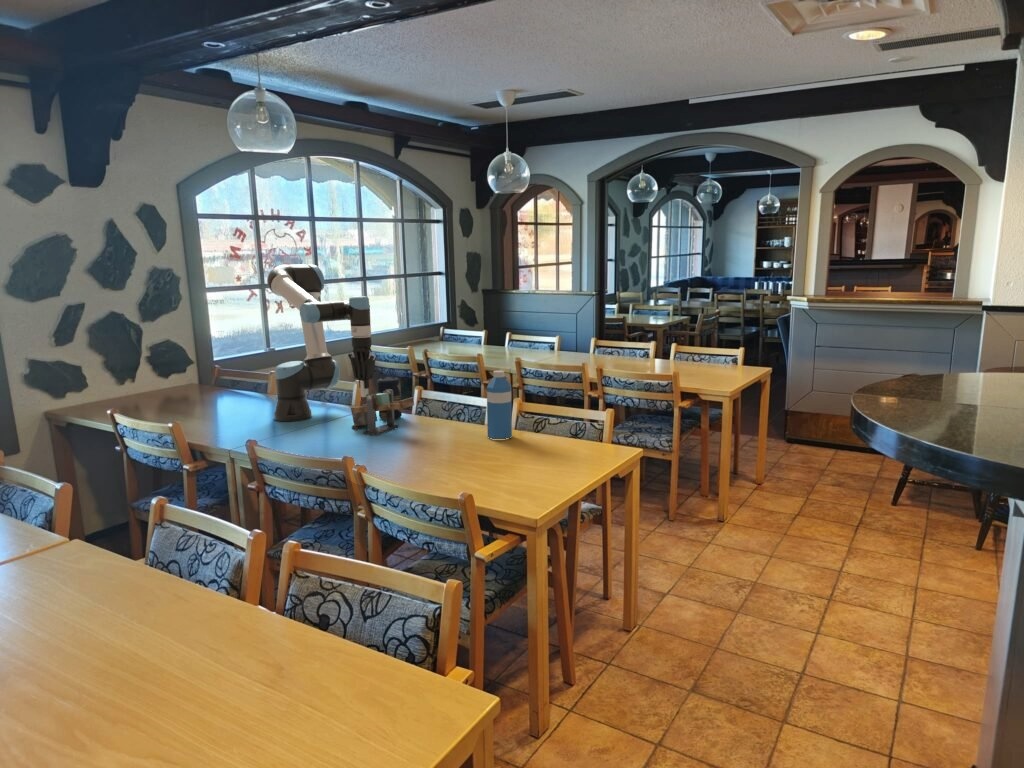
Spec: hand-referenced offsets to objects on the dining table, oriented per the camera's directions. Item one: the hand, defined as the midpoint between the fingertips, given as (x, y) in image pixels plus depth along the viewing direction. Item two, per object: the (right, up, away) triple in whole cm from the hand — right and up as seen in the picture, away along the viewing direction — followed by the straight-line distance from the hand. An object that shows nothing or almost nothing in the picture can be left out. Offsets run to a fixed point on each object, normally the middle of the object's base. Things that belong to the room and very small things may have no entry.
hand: (364, 396), depth 266 cm
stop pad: (-2, -12, +4) cm, 13 cm away
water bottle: (+53, -15, -13) cm, 57 cm away
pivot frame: (+7, -13, -1) cm, 15 cm away
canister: (+7, -10, +18) cm, 22 cm away
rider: (+7, -4, -3) cm, 9 cm away
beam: (+8, -10, -3) cm, 13 cm away
